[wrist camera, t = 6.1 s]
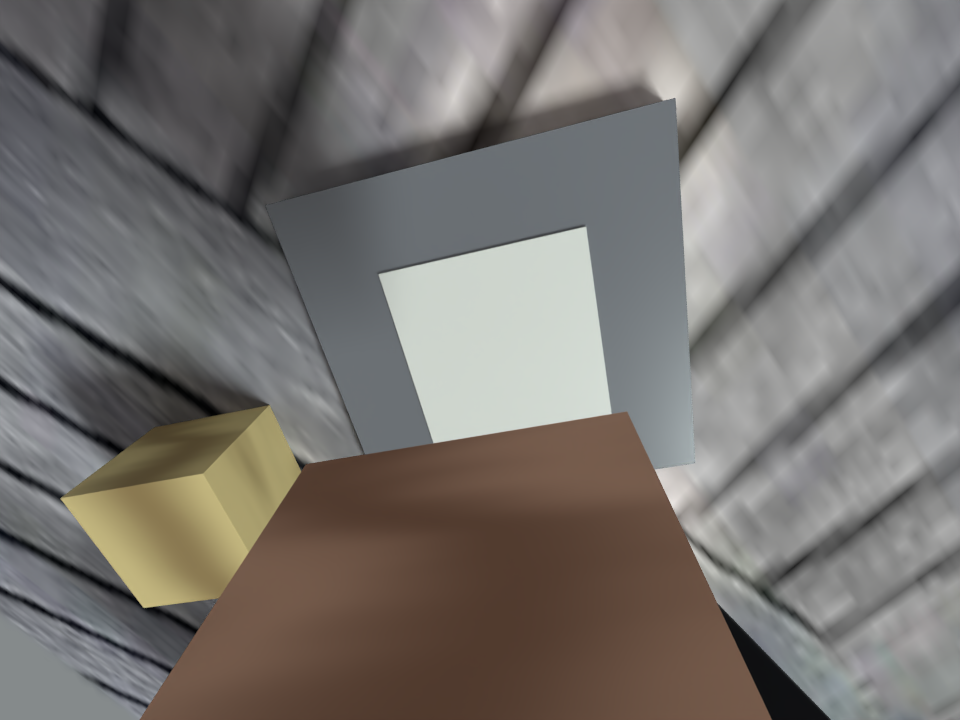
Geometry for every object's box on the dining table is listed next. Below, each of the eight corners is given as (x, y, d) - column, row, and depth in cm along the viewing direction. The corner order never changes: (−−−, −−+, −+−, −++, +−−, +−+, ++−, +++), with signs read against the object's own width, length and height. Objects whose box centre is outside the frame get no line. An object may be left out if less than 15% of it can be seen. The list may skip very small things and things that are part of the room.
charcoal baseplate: (392, 495, 22) (386, 511, 21) (278, 203, 17) (263, 205, 16) (686, 449, 20) (696, 464, 19) (664, 101, 15) (676, 97, 14)
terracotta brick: (399, 660, 11) (322, 1024, 6) (306, 464, 9) (76, 817, 4) (653, 637, 10) (774, 1036, 5) (626, 411, 8) (803, 785, 3)
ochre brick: (213, 521, 24) (143, 607, 19) (156, 425, 21) (60, 498, 17) (318, 504, 23) (272, 591, 18) (270, 403, 20) (203, 473, 16)
